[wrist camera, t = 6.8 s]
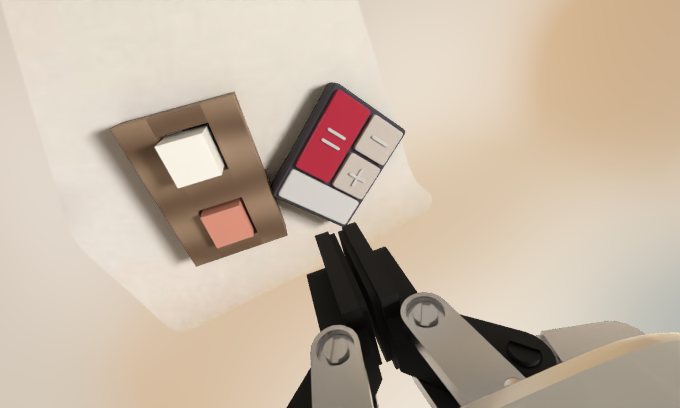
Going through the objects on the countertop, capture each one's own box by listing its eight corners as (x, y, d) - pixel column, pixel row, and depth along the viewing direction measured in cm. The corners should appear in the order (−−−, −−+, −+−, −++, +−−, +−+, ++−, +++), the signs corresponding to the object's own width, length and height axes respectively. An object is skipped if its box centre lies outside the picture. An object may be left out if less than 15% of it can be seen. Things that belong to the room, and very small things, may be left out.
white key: (165, 136, 31) (154, 147, 28) (207, 124, 32) (202, 133, 28) (185, 174, 33) (177, 188, 30) (224, 162, 34) (221, 174, 30)
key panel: (121, 122, 31) (109, 129, 28) (234, 91, 32) (232, 95, 30) (199, 252, 40) (196, 266, 37) (285, 223, 41) (287, 235, 39)
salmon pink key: (205, 202, 37) (200, 218, 33) (240, 191, 37) (239, 205, 34) (220, 231, 39) (217, 248, 36) (253, 220, 40) (253, 236, 36)
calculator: (410, 132, 36) (347, 230, 40) (394, 126, 40) (338, 217, 43) (337, 81, 32) (272, 198, 35) (327, 80, 35) (269, 186, 38)
